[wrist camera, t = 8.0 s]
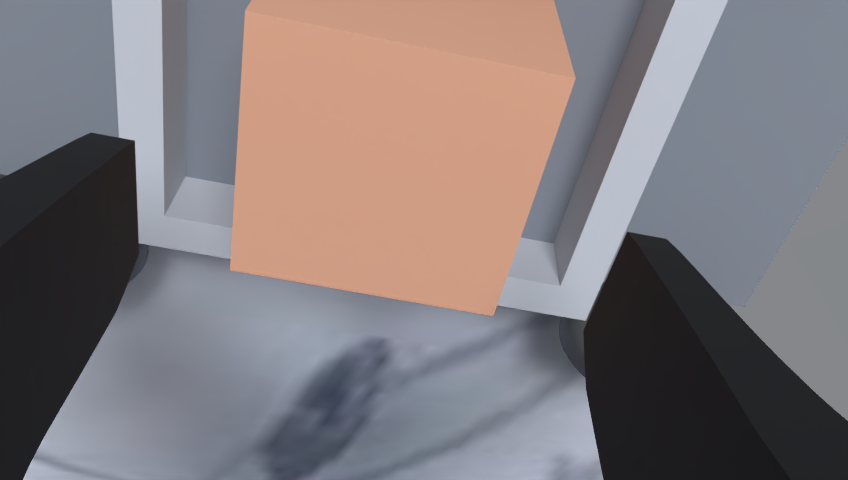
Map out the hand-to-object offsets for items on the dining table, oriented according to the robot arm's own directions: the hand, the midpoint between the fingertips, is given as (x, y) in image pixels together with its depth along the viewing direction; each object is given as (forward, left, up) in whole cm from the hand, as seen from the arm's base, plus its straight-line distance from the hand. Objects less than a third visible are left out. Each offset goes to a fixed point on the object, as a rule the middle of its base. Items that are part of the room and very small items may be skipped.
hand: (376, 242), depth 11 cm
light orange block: (0, 0, -8) cm, 8 cm away
